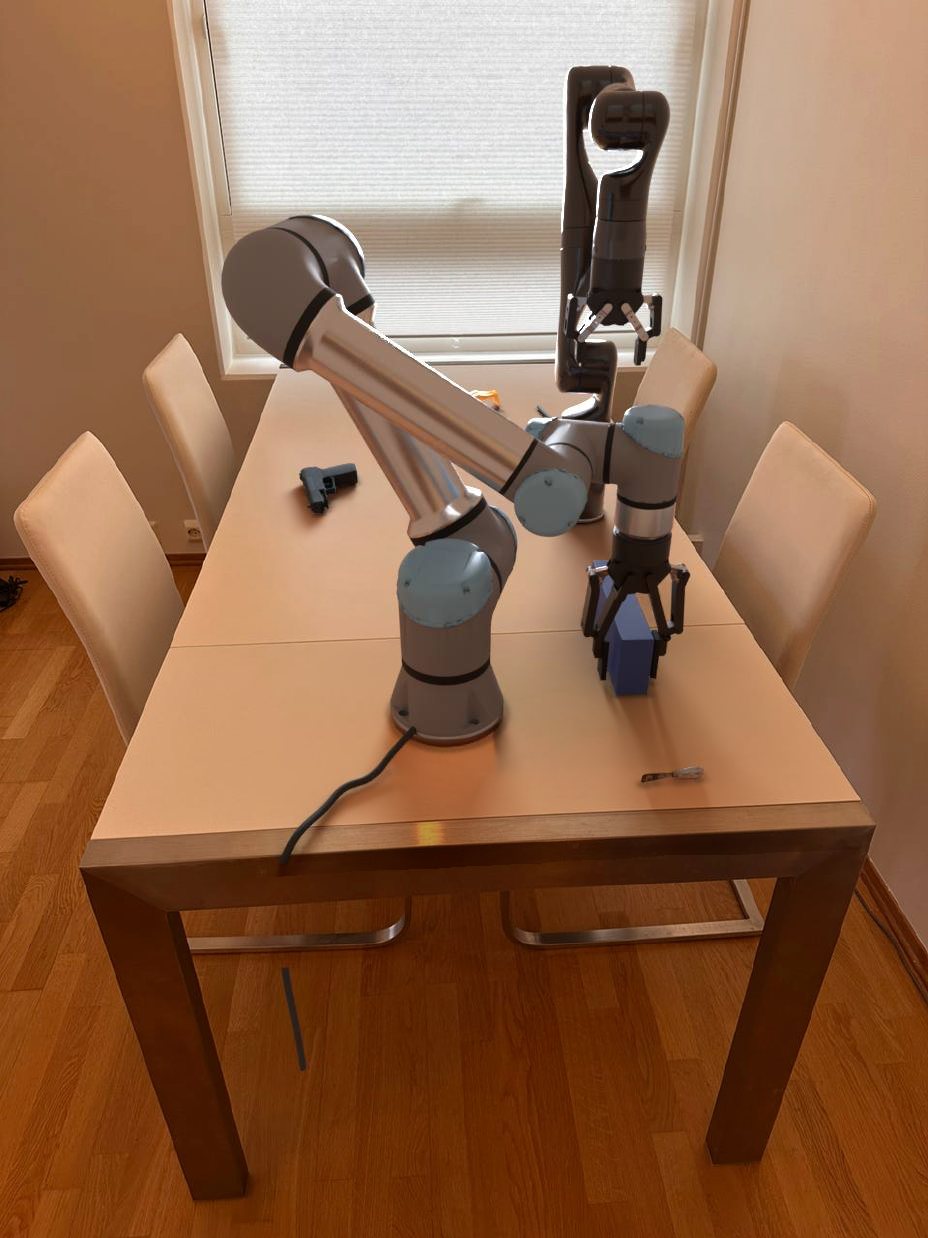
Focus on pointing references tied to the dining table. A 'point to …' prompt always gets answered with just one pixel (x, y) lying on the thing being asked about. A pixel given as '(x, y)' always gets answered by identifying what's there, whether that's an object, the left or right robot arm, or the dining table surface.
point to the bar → (627, 642)
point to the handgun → (325, 483)
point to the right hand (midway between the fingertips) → (609, 364)
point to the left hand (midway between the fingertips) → (626, 673)
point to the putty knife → (674, 774)
